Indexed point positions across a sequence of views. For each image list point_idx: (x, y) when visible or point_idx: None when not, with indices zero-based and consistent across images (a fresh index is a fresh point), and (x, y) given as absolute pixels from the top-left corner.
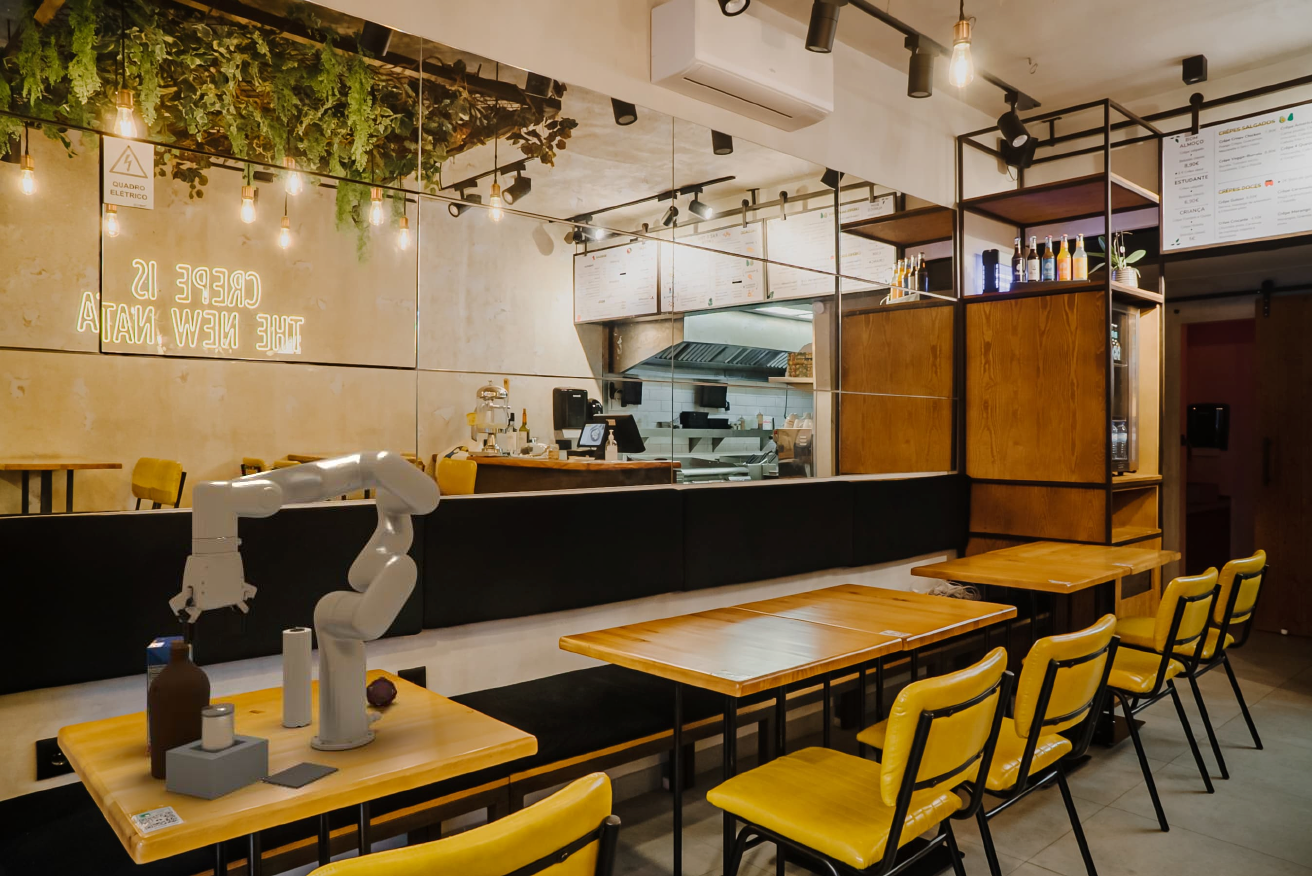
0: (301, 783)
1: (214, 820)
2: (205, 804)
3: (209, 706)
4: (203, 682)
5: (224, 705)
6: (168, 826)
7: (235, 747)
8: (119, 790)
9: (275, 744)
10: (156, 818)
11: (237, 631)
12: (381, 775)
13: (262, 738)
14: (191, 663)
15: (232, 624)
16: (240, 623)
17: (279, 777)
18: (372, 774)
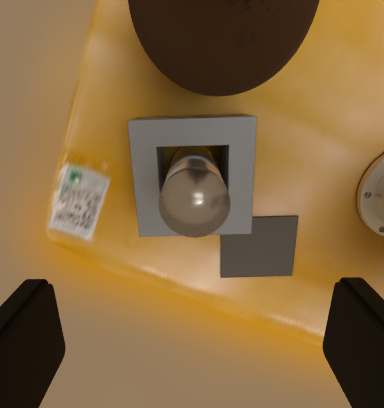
0: (231, 274)
1: (111, 266)
2: (135, 217)
3: (190, 179)
4: (251, 83)
5: (210, 205)
6: (73, 235)
7: None
8: (103, 39)
9: (369, 90)
10: (77, 201)
11: (332, 337)
12: (291, 327)
13: (250, 221)
14: (258, 7)
15: (362, 333)
16: (354, 404)
17: (237, 234)
18: (291, 317)
